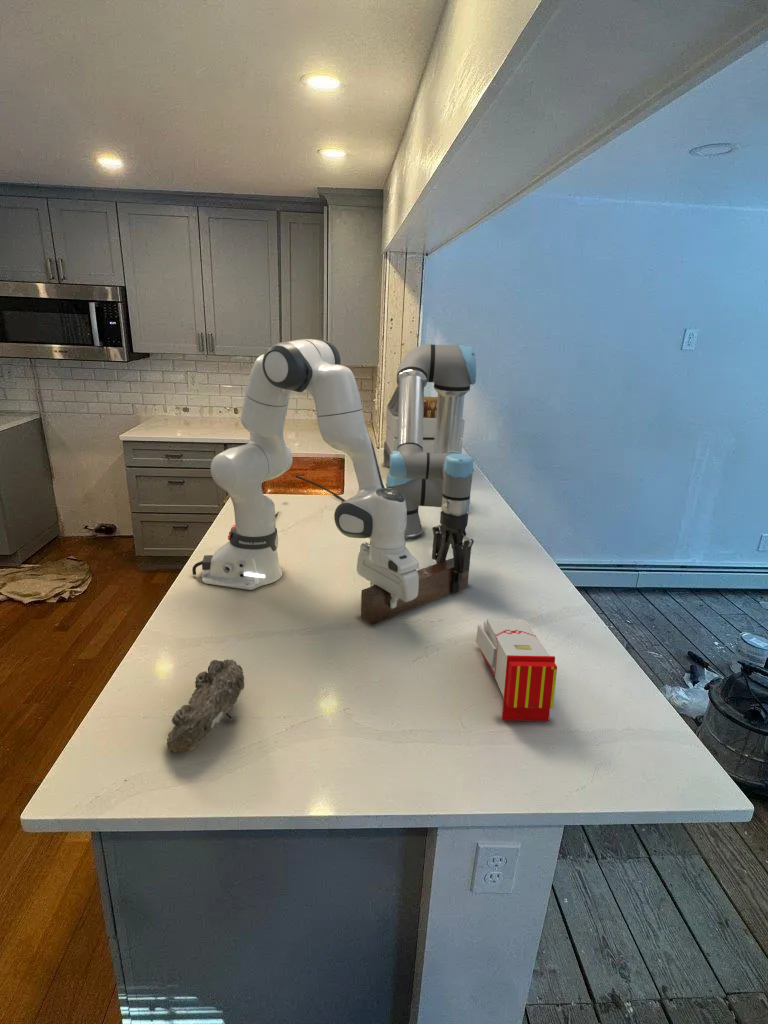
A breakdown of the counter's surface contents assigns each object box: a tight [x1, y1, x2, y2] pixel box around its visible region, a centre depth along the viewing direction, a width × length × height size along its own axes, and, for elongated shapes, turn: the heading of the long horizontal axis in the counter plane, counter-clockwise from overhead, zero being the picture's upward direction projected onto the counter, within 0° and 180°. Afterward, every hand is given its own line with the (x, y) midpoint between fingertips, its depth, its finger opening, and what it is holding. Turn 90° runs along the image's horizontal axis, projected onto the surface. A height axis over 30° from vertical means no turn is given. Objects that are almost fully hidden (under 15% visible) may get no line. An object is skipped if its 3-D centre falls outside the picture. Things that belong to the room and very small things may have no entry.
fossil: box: [166, 658, 245, 754], centre depth 106 cm, size 22×10×15 cm
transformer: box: [383, 385, 465, 468], centre depth 268 cm, size 34×33×41 cm
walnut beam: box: [360, 557, 471, 626], centre depth 153 cm, size 4×36×8 cm, turn 131°
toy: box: [475, 618, 558, 722], centre depth 122 cm, size 12×13×30 cm
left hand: (384, 602), depth 146 cm, fingers closed on walnut beam, 4 cm apart
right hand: (447, 588), depth 162 cm, fingers closed on walnut beam, 4 cm apart
